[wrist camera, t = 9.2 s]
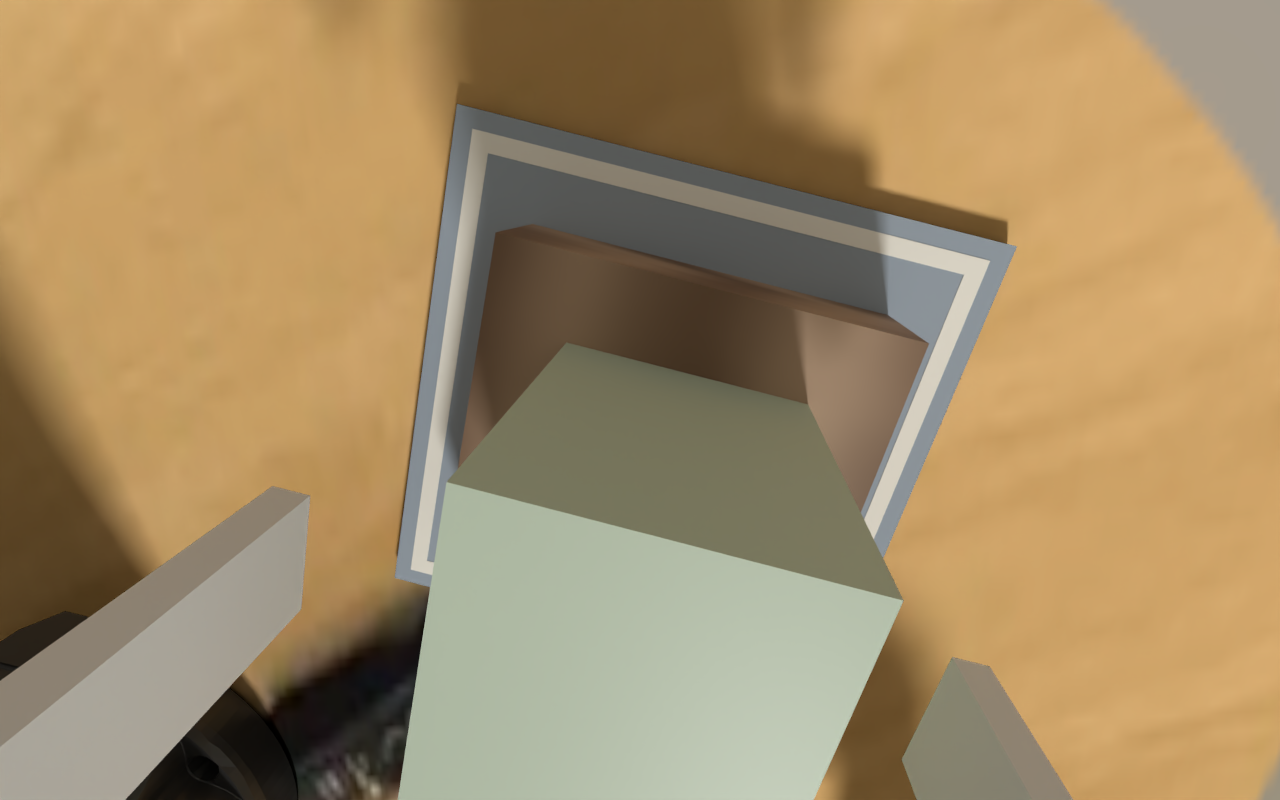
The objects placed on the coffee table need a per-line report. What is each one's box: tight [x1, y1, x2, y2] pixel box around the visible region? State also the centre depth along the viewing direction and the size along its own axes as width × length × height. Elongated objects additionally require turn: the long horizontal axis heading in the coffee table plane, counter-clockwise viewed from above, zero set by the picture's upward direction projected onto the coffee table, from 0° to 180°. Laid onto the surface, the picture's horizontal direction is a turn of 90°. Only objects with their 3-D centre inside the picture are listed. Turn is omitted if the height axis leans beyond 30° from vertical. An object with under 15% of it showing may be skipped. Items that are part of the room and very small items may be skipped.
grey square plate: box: [395, 104, 1017, 587], centre depth 23 cm, size 18×18×1 cm
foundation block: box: [458, 224, 929, 512], centre depth 21 cm, size 12×12×4 cm
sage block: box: [398, 342, 903, 800], centre depth 15 cm, size 7×7×9 cm
